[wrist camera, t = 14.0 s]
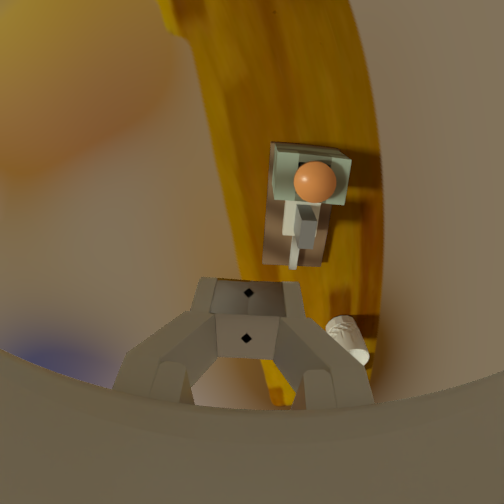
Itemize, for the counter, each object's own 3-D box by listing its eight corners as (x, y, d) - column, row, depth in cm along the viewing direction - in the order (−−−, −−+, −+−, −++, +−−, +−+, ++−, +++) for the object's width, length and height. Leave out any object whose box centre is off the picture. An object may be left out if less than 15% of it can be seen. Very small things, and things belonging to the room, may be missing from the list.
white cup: (362, 327, 57) (374, 361, 48) (332, 342, 59) (339, 377, 51) (349, 306, 54) (361, 343, 45) (316, 324, 56) (323, 361, 48)
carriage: (285, 191, 40) (290, 211, 33) (318, 194, 40) (330, 214, 33) (281, 228, 43) (285, 254, 36) (312, 230, 43) (322, 256, 36)
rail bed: (270, 141, 38) (273, 151, 31) (337, 148, 38) (355, 160, 31) (262, 259, 48) (262, 289, 41) (318, 262, 48) (328, 292, 41)
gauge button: (292, 153, 33) (296, 160, 30) (330, 157, 33) (339, 164, 30) (289, 190, 36) (292, 201, 32) (325, 193, 36) (333, 204, 32)
